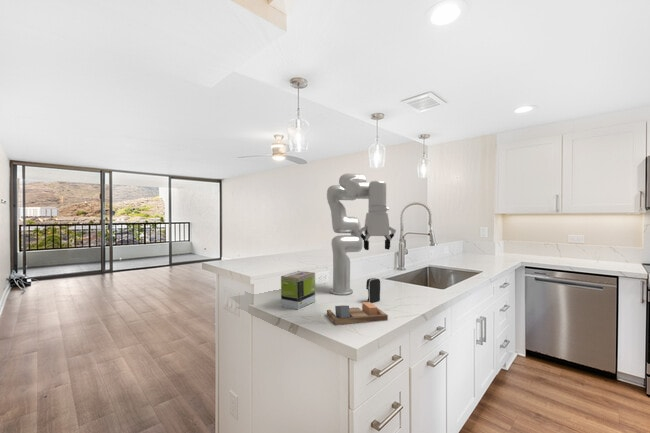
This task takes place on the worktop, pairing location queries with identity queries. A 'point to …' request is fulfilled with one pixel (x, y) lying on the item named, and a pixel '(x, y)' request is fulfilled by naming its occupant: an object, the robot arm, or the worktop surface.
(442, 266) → the worktop surface
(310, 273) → the tea box
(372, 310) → the terracotta stub
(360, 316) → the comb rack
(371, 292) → the battery charger
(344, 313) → the grey stub
